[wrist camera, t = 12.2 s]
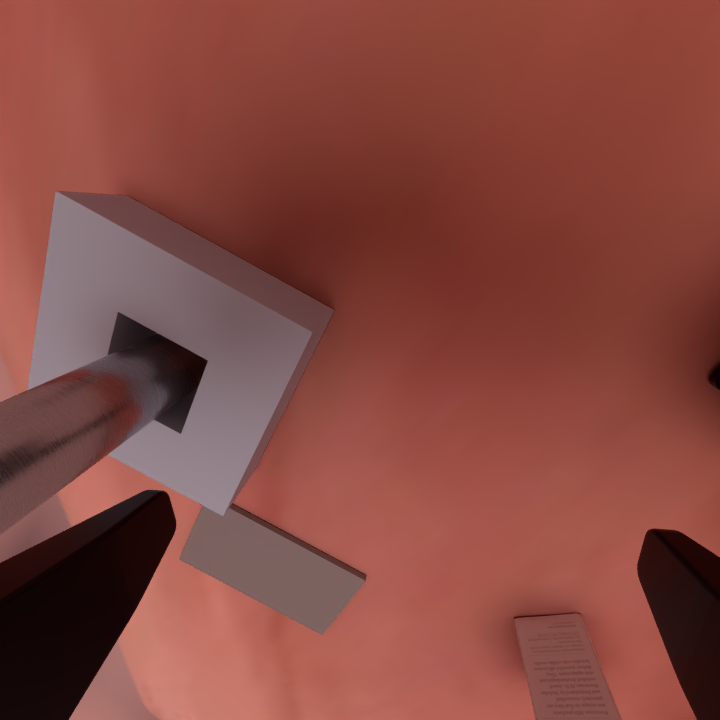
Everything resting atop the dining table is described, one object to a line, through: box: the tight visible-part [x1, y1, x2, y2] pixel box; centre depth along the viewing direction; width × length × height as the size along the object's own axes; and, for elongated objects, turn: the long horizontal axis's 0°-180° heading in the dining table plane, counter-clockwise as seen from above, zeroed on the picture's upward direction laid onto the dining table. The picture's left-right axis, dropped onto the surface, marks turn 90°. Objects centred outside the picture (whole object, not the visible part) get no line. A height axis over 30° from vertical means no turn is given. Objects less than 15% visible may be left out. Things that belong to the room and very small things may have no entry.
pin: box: [0, 334, 208, 535], centre depth 16 cm, size 3×3×12 cm
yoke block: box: [27, 191, 334, 516], centre depth 20 cm, size 12×12×4 cm
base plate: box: [180, 504, 366, 635], centre depth 27 cm, size 12×7×1 cm, turn 62°
